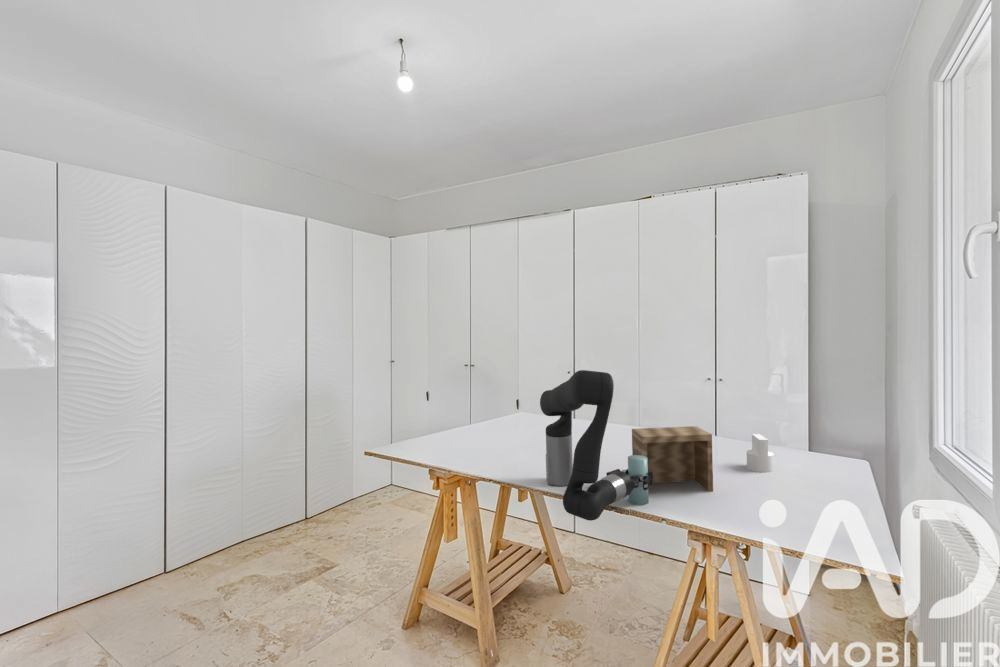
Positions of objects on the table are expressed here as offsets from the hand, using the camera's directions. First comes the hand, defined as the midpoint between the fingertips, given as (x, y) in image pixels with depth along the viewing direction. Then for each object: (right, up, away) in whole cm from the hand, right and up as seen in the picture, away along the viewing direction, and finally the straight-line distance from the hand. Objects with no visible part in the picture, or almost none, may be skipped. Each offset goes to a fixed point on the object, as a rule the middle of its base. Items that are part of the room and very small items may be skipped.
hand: (641, 473), depth 155 cm
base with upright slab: (+52, -6, +26) cm, 59 cm away
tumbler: (-1, -9, -1) cm, 9 cm away
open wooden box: (+13, -8, +11) cm, 19 cm away
